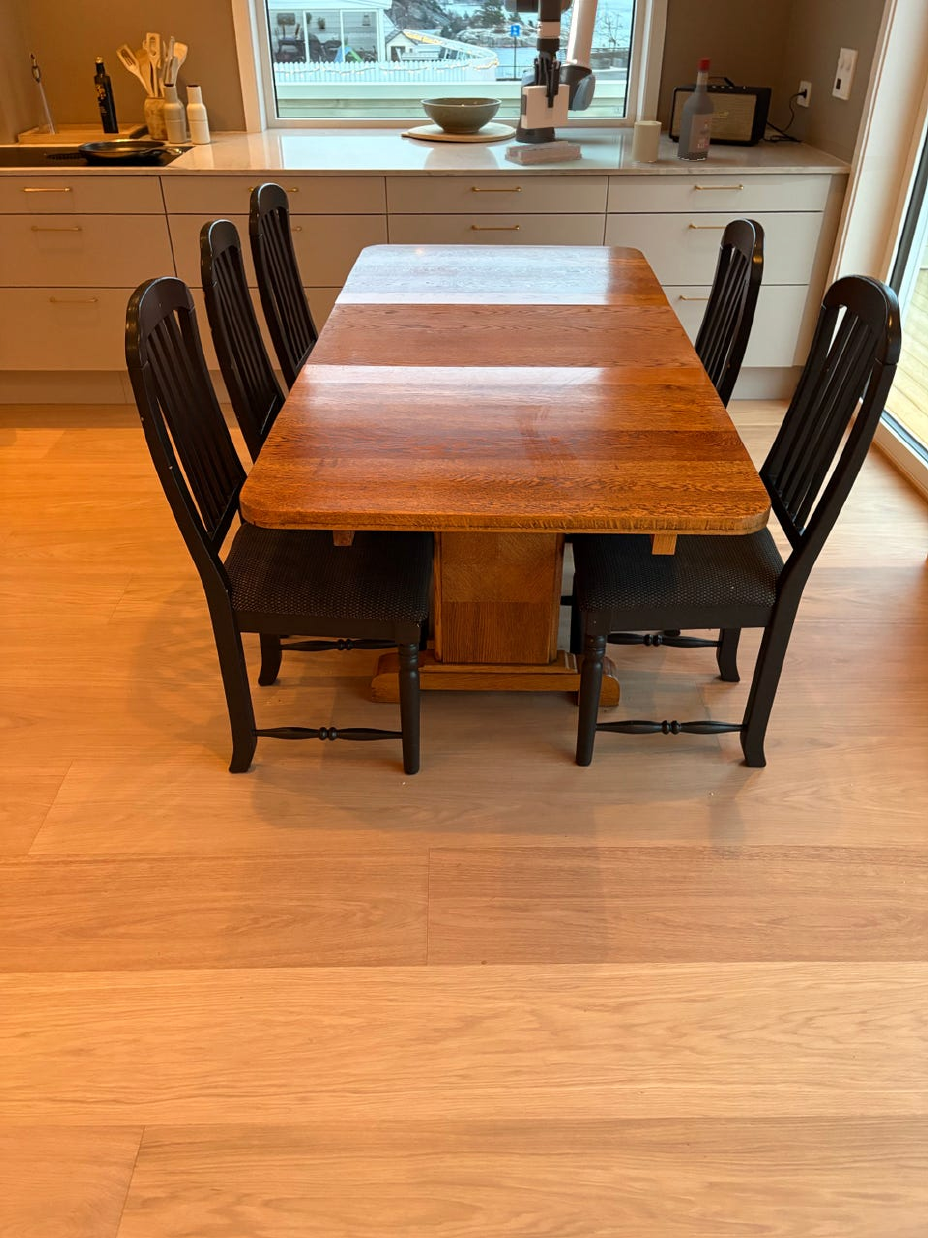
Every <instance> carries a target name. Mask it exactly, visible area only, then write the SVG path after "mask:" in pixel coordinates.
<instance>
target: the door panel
mask: <svg viewBox="0 0 928 1238" xmlns="http://www.w3.org/2000/svg"><path fill="white" fill-rule="evenodd" d="M545 95H547V85H544V86H530V87H522V114H521V127H522V128H525V129H533V128H544V127H554V128H555V127H565V126H568V121H569V119H568V118H569V117H568V116H569V110H568V103H569V85H565V84H559V89H558V95H556V96H555V97H554V103H553V118H552V119H545Z"/></svg>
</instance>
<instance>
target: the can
mask: <svg viewBox="0 0 928 1238" xmlns="http://www.w3.org/2000/svg"><path fill="white" fill-rule="evenodd" d="M661 129H662V122H660V121H657V120H638V121H637V120H636V121H635V122H634V127H633V138H632V148H631V149H632V151H631V157H630V160H631V159H632V160H634V161H633V162H635V161H640V162H639V163H642V162H649V161H656V160H658V161H659V159H658V158H659V146H660V138H661ZM632 160H631V161H632ZM656 162H657V161H656Z"/></svg>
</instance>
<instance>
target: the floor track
mask: <svg viewBox="0 0 928 1238" xmlns="http://www.w3.org/2000/svg"><path fill="white" fill-rule="evenodd" d="M581 146H582V145H580V144H571V145H570V144H569V141H567V140H561V141H560V140H559V141H552V142H546V143H529V144H522V145H520V144H519V145H512V146H506V150H505V151H506V152H505V154H504V160H506V161H509V162H511V163H514V164H517V165H520V166H528V165H527V164H531V165H535V163H539V164H547V163H546V162H548V163H555V161H557V162H563V160H566V161H571V160H570V159H574V160H579V159H578V158H582V157H583V154H582V153H581ZM582 159H583V158H582Z"/></svg>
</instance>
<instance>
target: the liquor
mask: <svg viewBox="0 0 928 1238" xmlns="http://www.w3.org/2000/svg"><path fill="white" fill-rule="evenodd" d="M710 65H711V58H708V57H707V58H706V57H704V58H703V57H702V58H699V61H698V68H697V70H698V73H697V79H696V86H695V88H694V92H693V93H692V94H691V95H690V96H689V97H688V99H687V100H685V102H684V104H683V106H682V113H681V124H680V131H679V139H678V146H677V158H678V157H680V158H684V159H689V160H697V159H703V158H706V159H707V158H708V154H709V148H710V147H709V146H710V140H711V132H712V125H713V118H714V111H715V104H714V101H713V99H712V98H711V97H710V95H709V93H708V87H707V85H708V78H709V71H710Z"/></svg>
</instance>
